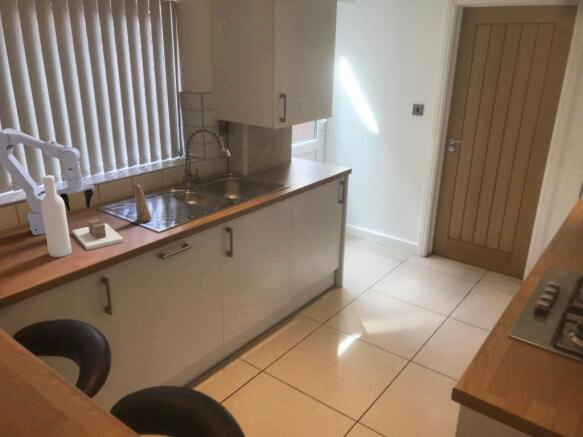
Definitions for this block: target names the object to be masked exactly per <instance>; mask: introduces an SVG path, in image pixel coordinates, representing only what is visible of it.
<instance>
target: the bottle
mask: <svg viewBox="0 0 583 437" xmlns="http://www.w3.org/2000/svg"><path fill="white" fill-rule="evenodd" d="M42 183H43V186H44V189H45V194H46V196H45V197H44V198H43V199H42V202H41V209H42V215H43V221H44V227H45V233H44V234H45V238H46V243H47V251H48V252H47V253H48V254H49V256H50V257H53V258H62V257H65V256H68V255H70V254H71V253H72V251H73V250H72V243H71V238H70V232H69V231H70V230H69V226H68V225H69V224H68V218H67V210H66V205H65V203H64V201H63V199H62V198H61V197H60V196H58V195H57V193H56V190H57V187H56V179H55V176H54V175H43V177H42Z"/></svg>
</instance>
